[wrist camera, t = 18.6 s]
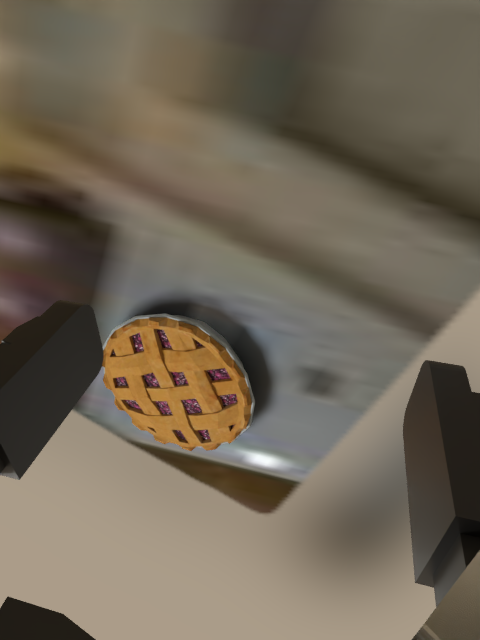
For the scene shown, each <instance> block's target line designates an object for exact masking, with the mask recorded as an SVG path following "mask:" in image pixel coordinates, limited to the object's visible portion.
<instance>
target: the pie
mask: <svg viewBox="0 0 480 640" xmlns="http://www.w3.org/2000/svg"><path fill="white" fill-rule="evenodd" d="M103 354H104V356H103V363H102V366H103V369H104V379H103V381H104V384H105V386H106V388H108V389H110V390H112V392H113V394H114V396H115V405H116V406H117V408H118V409H119V410H123V411H126V412H127V413H128V414H129V416H130V417H131V418H132V423H133V424H134V425H135V426H136V427H138V428H139V429H140V430H146V431H148V432H150V433H151V434H153V436H154V438H155V440H156V441H159V442H161V443H163V444H166V443H169V442H171V443H174V444H177V445H179V446H181V447H182V449H186V450H189V451H191V450H193V449H194V448H195V447H200V448H204V449H205V450H213V449H216V448H217V447H219V446H220V445H222V444H226V443H229V444H230V443H231V442H233V441H235V440H236V439H237V438H238V437H239V436H240V435H241V434H242V433H243V432H245V431H246V430H247V429H248V428H249V427H250V426H251V422H252V416H253V411H254V406H255V400H254V396H253V393H252V389H251V386H250V382H249V379H248V375H247V373H246V371H245V370H244V367H243V364H242V362H241V360H240V359H239V357H238V356H237V355H236V353H235V352H234V350H233V349H232V347H231V346H230V345H229V343H228V342H227V340H226V339H225V338H224V337H223V336H222V335H220V334H219V333H218V332H217V331H215V330H214V329H213V328H212V327H210V326H209V325H208V324H207V323H205V322H204V321H200V320H196V319H193V318H189V317H185V316H181V315H169V314H154V315H142V316H135V317H133V318H131V319H129V320H127V321H126V322H124V323H122V324H120V325H118V326H117V327H115V328H113V330H112V332H111V333H110V335H109V337H108V339H107V340H106V342H105V344H104V346H103Z"/></svg>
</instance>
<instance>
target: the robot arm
mask: <svg viewBox="0 0 480 640" xmlns="http://www.w3.org/2000/svg"><path fill="white" fill-rule="evenodd" d="M103 356H104V354H103V347H102V343H101V339H100V335H99V331H98V326H97V322H96V318H95V314H94V310H93V308H92V307H91V306H90V305H88V304H81V303H75V302H69V301H63V300H60V301H57V302H55V303H54V304H53V305H52V306H51V307H50V308H49V309H48V310H47V311H46V312H44V313H43V314H42V315H41V316H40V317H38V316H37V317H35V318H34V319H32V320H30V321H28V322H26V323H24V324H22V325H20V326H18V327H17V328H16V329H14V330H13V331H12V332H11V333H10V334H9V335H8V336H7V337H6V338H4V339H3V340H2V343H1V344H0V475H3V476H6V477H10V478H14V479H18V480H20V478H21V477H22V476H23V474H24V473H25V472H26V470H27V469H28V468H29V467H30V465H31V464H32V462H33V461H34V460H35V458H36V457H37V456H38V454H39V453H40V452H41V450H42V449H43V447H44V446H45V445H46V444H47V442H48V441H49V440H50V438H51V437H52V435H53V434H54V433H55V431H56V430H57V429H58V427H59V426H60V425H61V423H62V422H63V421H64V419H65V418H66V417H67V415H68V414H69V413H70V411H71V410H72V409H73V407H74V406H75V405H76V403H77V402H78V400H79V399H80V398H81V396H82V395H83V394H84V392H85V391H86V390H87V388H88V387H89V386H90V384H91V383H92V382H93V380H94V379H95V378H96V376H97V375H98V373H99V371H100V369H101V367H102V363H103ZM403 425H404V426H403V438H404V451H405V463H406V476H407V488H408V500H409V513H410V525H411V538H412V550H413V562H414V575H415V583H418V584H422V585H426V586H430V587H434V591H435V600H436V609H435V610H434V611H433V613H432V614H431V615H430V617H429V618H428V620H427V621H426V622H425V623H424V625H423V626H422V627H421V629H420V630H419V631H418V632H417V634H416V635H415V636H414V638H413V639H412V640H480V393H475V392H471V388H470V385H469V381H468V377H467V374H466V370H465V368H464V367H463V366H459V365H453V364H446V363H441V362H435V361H428V360H426V361H425V362H424V363H423V364H422V367H421V369H420V372H419V375H418V378H417V380H416V383H415V386H414V388H413V391H412V394H411V396H410V399H409V402H408V405H407V408H406V411H405V416H404V424H403ZM0 640H95V639H94V638H93V637H92V636H90V635H89V634H88V633H86V632H85V631H84V630H83V629H81V628H80V627H79V626H78V625H76V624H75V623H74V622H72V621H71V620H70V619H68V618H67V617H66V616H65V615H64V614H61V613H58V612H55V611H52V610H49V609H45V608H42V607H39V606H36V605H33V604H30V603H26V602H23V601H20V600H17V599H14V598H10V597H7V598H6V600H5V602H4V603H3V605H2V606H1V608H0Z"/></svg>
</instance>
